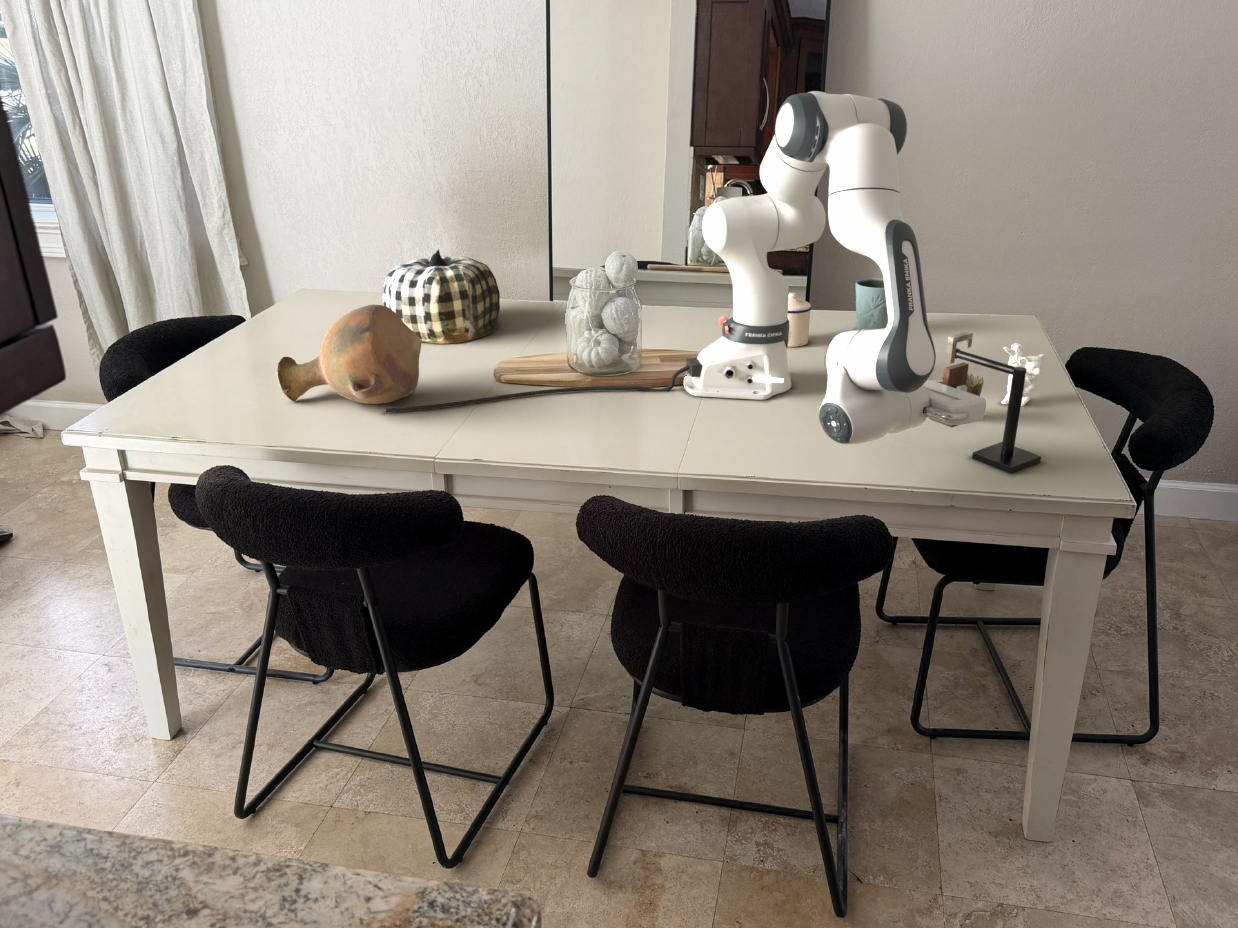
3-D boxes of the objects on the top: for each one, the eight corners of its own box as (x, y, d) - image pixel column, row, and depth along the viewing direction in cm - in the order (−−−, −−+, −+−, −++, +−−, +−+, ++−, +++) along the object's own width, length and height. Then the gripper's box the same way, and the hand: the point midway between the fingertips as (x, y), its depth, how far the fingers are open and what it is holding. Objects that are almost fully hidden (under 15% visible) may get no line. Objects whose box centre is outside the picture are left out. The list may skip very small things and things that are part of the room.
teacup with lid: (806, 336, 243) (809, 288, 239) (811, 347, 235) (814, 298, 230) (756, 336, 244) (758, 288, 239) (759, 347, 236) (761, 298, 231)
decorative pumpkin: (390, 315, 266) (382, 238, 258) (501, 310, 268) (496, 234, 260) (378, 348, 239) (368, 264, 231) (501, 343, 242) (496, 259, 233)
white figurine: (1000, 408, 198) (1009, 349, 193) (989, 396, 204) (998, 338, 199) (1043, 408, 198) (1053, 349, 193) (1032, 396, 204) (1041, 338, 199)
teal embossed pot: (898, 337, 242) (903, 287, 237) (856, 337, 242) (860, 288, 237) (889, 325, 251) (893, 277, 246) (848, 325, 251) (852, 277, 246)
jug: (447, 390, 211) (318, 406, 218) (430, 296, 208) (300, 315, 215) (406, 405, 192) (267, 422, 199) (387, 302, 188) (246, 322, 195)
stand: (1011, 473, 170) (1026, 378, 163) (926, 440, 183) (937, 351, 177) (1040, 462, 174) (1056, 369, 167) (955, 430, 187) (967, 343, 181)
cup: (972, 427, 189) (978, 387, 186) (933, 420, 192) (937, 380, 189) (982, 414, 195) (988, 375, 191) (944, 408, 198) (948, 369, 195)
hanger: (951, 427, 174) (963, 340, 167) (928, 419, 177) (938, 333, 171) (970, 421, 176) (982, 335, 170) (947, 413, 180) (958, 328, 174)
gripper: (955, 403, 159) (1011, 385, 166) (859, 369, 174) (913, 355, 181) (950, 440, 161) (1005, 421, 168) (856, 404, 177) (910, 388, 184)
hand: (957, 386), depth 175 cm, fingers closed on hanger
